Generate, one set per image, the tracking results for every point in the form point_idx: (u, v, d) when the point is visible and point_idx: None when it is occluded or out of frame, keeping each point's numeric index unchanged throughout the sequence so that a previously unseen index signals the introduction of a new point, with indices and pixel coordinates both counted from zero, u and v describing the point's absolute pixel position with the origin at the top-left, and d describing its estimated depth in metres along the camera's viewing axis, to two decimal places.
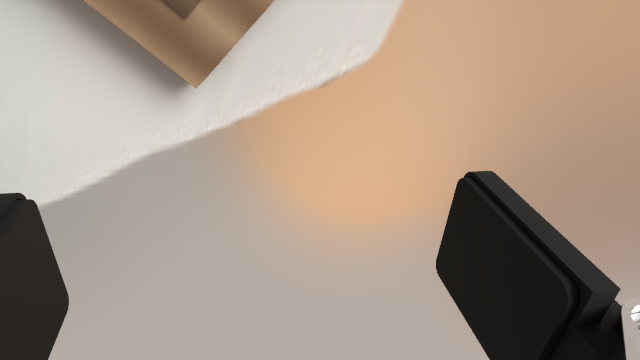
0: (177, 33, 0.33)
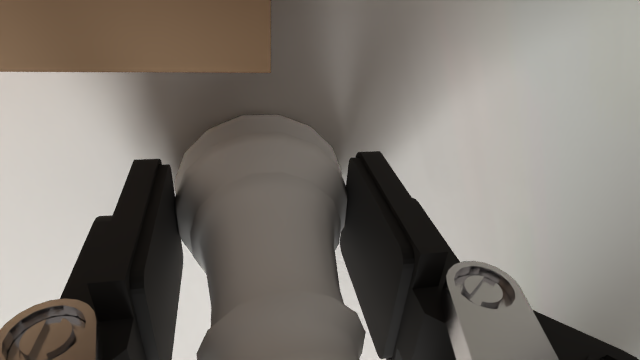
0: None
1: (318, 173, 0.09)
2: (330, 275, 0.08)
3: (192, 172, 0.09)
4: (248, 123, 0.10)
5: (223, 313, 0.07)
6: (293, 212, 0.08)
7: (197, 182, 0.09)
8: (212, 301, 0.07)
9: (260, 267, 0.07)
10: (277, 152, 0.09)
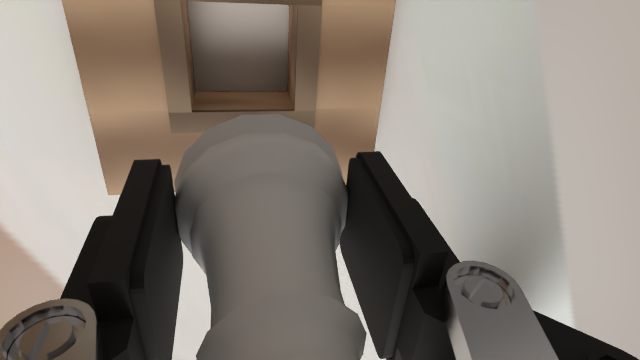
0: None
1: (319, 173, 0.09)
2: (331, 276, 0.08)
3: (191, 171, 0.09)
4: (248, 122, 0.10)
5: (222, 314, 0.07)
6: (293, 212, 0.08)
7: (196, 182, 0.09)
8: (212, 302, 0.07)
9: (260, 268, 0.07)
10: (277, 152, 0.09)
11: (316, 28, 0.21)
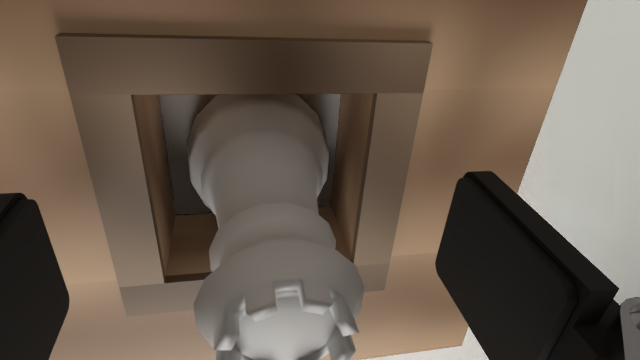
0: None
1: (304, 131, 0.12)
2: (310, 201, 0.10)
3: (202, 128, 0.12)
4: None
5: None
6: (283, 156, 0.10)
7: (206, 136, 0.11)
8: (219, 219, 0.10)
9: (257, 190, 0.09)
10: (271, 112, 0.11)
11: (407, 133, 0.11)
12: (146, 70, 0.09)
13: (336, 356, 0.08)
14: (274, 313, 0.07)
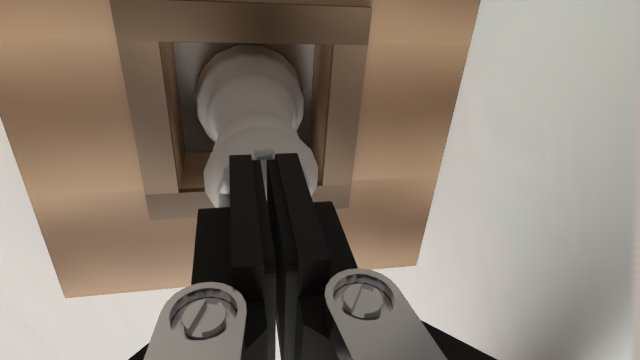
0: None
1: (284, 78, 0.16)
2: (285, 121, 0.14)
3: (207, 75, 0.15)
4: (241, 49, 0.16)
5: None
6: (266, 92, 0.14)
7: (210, 80, 0.15)
8: None
9: (246, 110, 0.13)
10: (258, 63, 0.15)
11: (358, 76, 0.15)
12: (169, 23, 0.13)
13: None
14: None
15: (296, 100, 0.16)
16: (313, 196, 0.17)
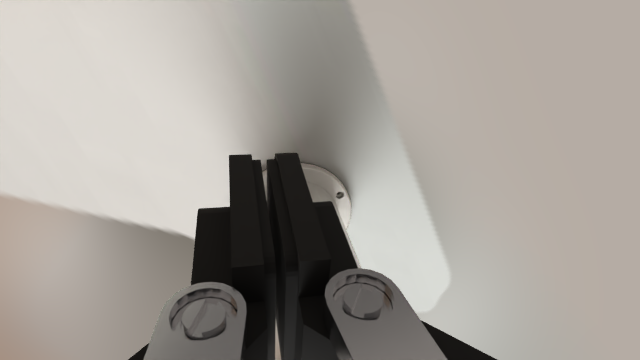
0: None
1: None
2: None
3: None
4: None
5: None
6: None
7: None
8: None
9: None
10: None
11: None
12: None
13: None
14: None
15: None
16: None
